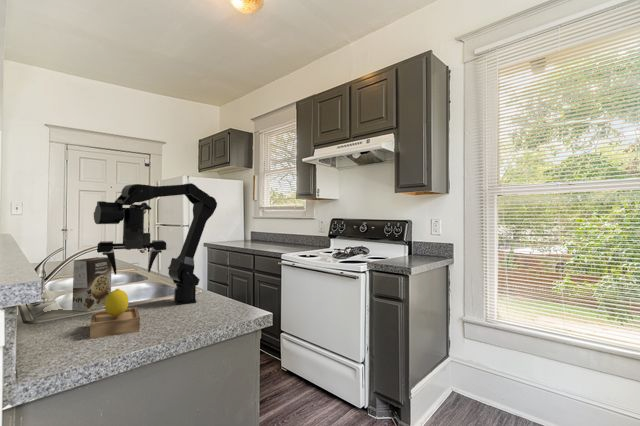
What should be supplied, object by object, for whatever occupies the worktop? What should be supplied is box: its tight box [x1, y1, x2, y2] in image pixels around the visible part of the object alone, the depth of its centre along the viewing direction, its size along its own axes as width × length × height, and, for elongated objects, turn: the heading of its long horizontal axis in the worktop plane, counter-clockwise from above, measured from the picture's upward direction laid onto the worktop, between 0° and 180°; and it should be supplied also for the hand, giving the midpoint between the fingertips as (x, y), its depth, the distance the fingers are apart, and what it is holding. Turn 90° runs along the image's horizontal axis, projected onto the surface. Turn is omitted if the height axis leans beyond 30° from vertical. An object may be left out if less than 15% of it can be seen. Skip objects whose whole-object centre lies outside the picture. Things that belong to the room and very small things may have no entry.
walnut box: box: [89, 306, 141, 339], centre depth 91 cm, size 11×11×4 cm
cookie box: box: [71, 256, 113, 313], centre depth 110 cm, size 9×6×16 cm
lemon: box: [104, 288, 129, 318], centre depth 91 cm, size 6×6×8 cm
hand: (132, 273), depth 106 cm, fingers open, 9 cm apart
